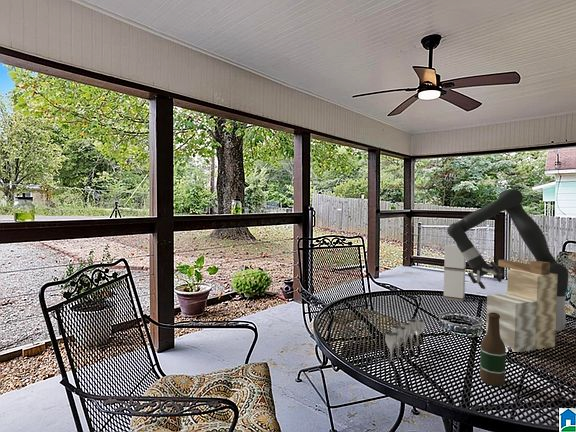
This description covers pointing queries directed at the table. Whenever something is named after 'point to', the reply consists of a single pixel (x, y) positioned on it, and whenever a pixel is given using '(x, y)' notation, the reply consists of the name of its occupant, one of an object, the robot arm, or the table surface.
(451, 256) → the white tall block
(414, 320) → the goblet set
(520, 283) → the step shelf
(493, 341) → the beer bottle
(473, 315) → the table surface
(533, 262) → the wooden mallet
